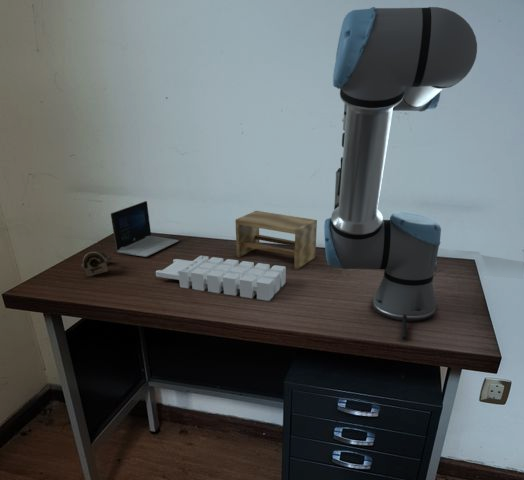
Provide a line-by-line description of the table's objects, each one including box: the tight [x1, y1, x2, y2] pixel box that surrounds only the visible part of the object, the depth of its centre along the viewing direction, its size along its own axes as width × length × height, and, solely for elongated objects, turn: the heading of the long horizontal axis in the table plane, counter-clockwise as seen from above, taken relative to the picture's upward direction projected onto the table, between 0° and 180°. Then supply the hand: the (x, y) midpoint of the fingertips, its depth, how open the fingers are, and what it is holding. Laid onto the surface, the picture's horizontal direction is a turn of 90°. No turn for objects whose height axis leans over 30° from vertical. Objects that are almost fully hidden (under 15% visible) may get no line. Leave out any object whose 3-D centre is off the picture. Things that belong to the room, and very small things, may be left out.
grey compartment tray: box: [155, 255, 287, 302], centre depth 140 cm, size 13×5×35 cm
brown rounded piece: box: [80, 250, 113, 277], centre depth 149 cm, size 7×13×10 cm
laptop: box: [110, 200, 180, 258], centre depth 165 cm, size 18×12×13 cm
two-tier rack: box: [234, 210, 318, 270], centre depth 156 cm, size 12×22×12 cm, turn 58°
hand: (349, 215), depth 147 cm, fingers closed on coffee box, 7 cm apart
